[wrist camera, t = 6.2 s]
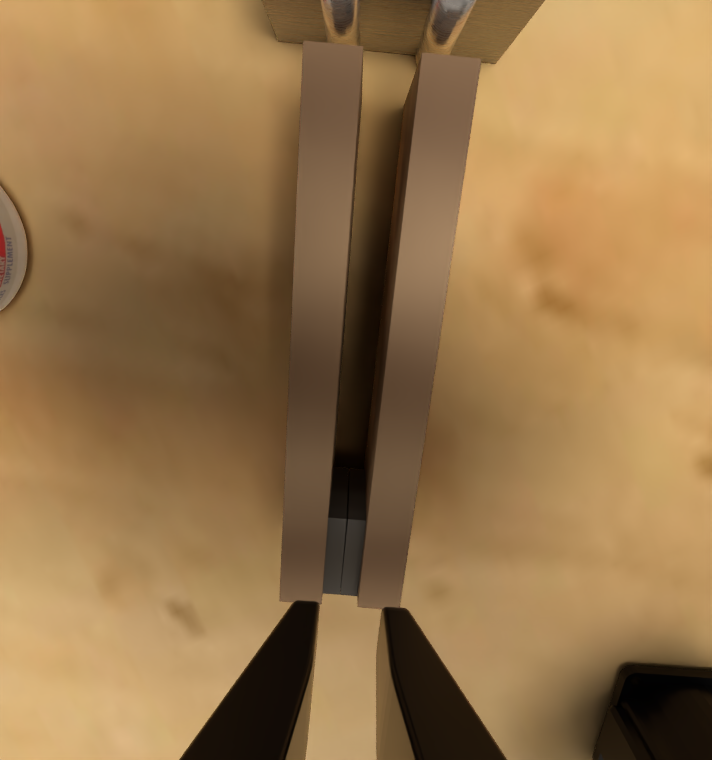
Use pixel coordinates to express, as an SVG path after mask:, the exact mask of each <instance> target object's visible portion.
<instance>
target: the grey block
mask: <svg viewBox="0 0 712 760" xmlns="http://www.w3.org/2000/svg"><path fill="white" fill-rule="evenodd" d="M544 1H545V0H262V2H263V5H264V7H265V10H266V12H267V15H268V17H269V20H270V22H271V25H272V27H273V30H274V32H275V35H276V37H277V40H278V41H281V42H291V43H301V44H303V41H313V42H324V43H334V44H345V45H355V46H363V50H369V51H379V52H388V53H398V54H408V55H415V60H416V64H417V66H418V63H419V60H420V58H421V55H422V52H423V53H432V54H442V55H451V56H460V57H469V58H479V59H481V62H486V63H497V61H498V60H499V59H500V58H501V56H502V55H503V54H504V52H505V51H506V50H507V49H508V47H509V46H510V45H511V43H512V42H513V41H514V40H515V38H516V37H517V36H518V34H519V33H520V32H521V31H522V29H523V28H524V27H525V25H526V24H527V23H528V22H529V20H530V19H531V18H532V16H533V15H534V14H535V13H536V11H537V10H538V9H539V7H540V6H541V5H542V4H543V2H544Z"/></svg>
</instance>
